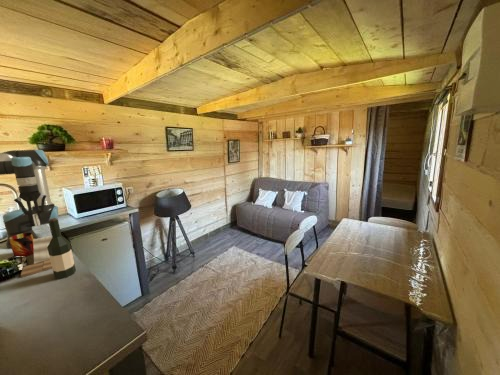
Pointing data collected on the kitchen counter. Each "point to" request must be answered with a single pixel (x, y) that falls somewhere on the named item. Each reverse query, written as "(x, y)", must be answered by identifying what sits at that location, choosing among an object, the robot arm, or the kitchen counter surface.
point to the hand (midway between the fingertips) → (37, 224)
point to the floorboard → (36, 268)
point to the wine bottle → (60, 252)
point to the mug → (22, 244)
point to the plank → (41, 249)
